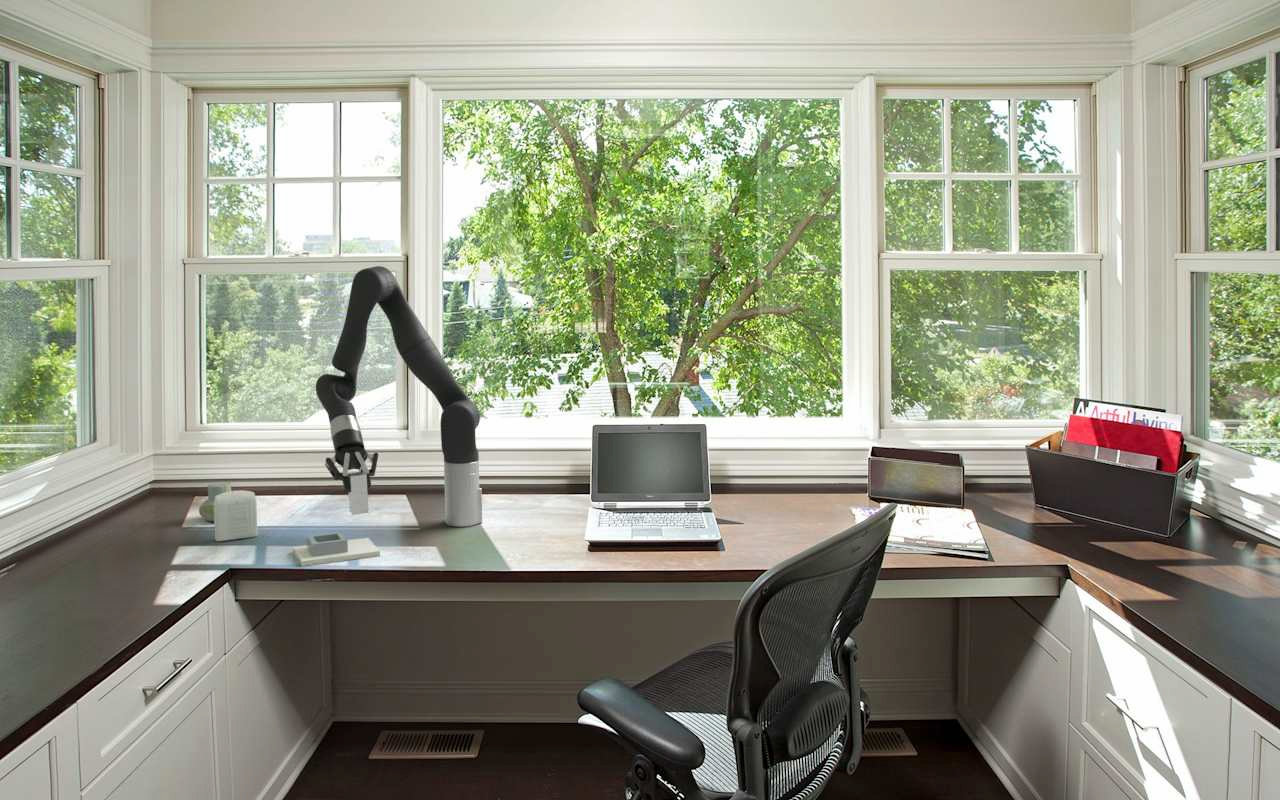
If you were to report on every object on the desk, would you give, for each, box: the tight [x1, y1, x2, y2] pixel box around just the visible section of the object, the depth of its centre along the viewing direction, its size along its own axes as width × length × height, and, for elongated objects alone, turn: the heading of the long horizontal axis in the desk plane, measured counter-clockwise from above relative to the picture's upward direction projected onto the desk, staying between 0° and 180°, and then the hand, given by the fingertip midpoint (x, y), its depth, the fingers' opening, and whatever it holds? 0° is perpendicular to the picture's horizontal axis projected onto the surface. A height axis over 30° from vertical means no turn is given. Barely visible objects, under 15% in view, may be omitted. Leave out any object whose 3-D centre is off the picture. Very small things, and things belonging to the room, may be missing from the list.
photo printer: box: [213, 489, 259, 542], centre depth 247 cm, size 10×4×12 cm, turn 123°
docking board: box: [292, 531, 381, 567], centre depth 234 cm, size 18×13×4 cm
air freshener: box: [198, 481, 232, 523], centre depth 266 cm, size 11×8×10 cm
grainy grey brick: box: [347, 471, 370, 516], centre depth 248 cm, size 4×4×10 cm
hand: (358, 489), depth 247 cm, fingers closed on grainy grey brick, 4 cm apart
